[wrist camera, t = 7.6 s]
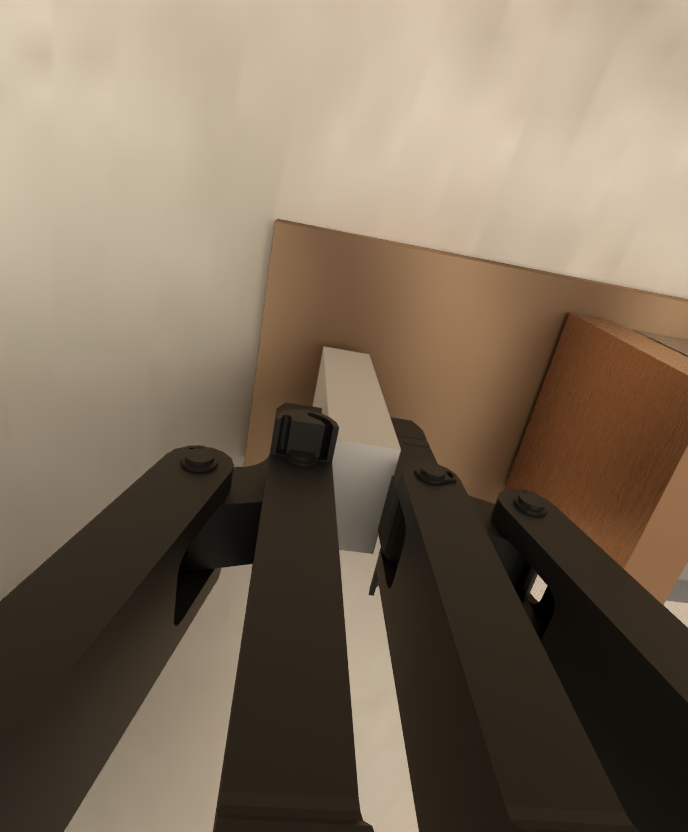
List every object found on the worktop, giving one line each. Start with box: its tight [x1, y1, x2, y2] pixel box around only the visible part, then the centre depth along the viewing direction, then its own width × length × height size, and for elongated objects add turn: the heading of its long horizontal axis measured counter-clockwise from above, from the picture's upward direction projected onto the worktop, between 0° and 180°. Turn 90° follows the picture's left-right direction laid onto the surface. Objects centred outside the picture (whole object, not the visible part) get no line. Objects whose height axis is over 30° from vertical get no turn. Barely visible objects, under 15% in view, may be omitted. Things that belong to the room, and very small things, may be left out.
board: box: [244, 219, 688, 504], centre depth 20 cm, size 32×9×1 cm, turn 79°
